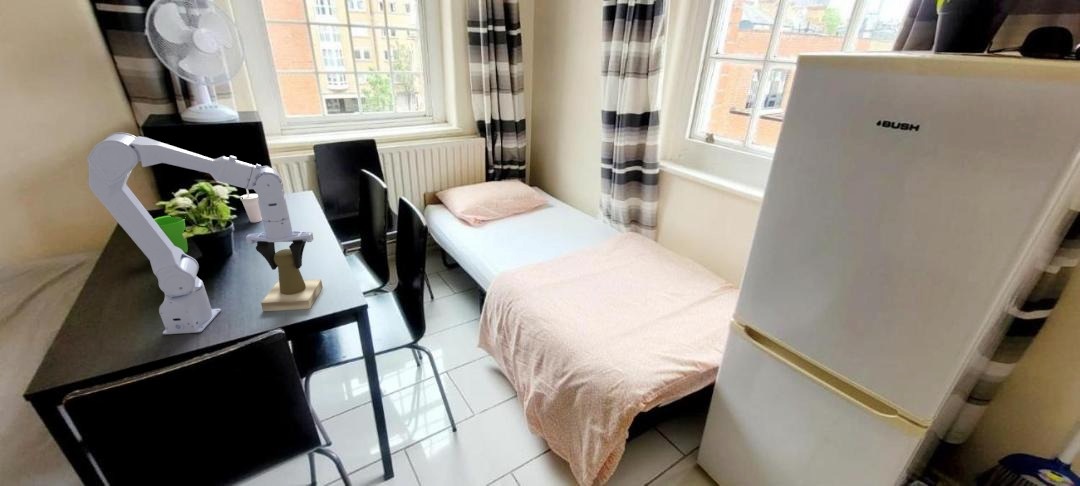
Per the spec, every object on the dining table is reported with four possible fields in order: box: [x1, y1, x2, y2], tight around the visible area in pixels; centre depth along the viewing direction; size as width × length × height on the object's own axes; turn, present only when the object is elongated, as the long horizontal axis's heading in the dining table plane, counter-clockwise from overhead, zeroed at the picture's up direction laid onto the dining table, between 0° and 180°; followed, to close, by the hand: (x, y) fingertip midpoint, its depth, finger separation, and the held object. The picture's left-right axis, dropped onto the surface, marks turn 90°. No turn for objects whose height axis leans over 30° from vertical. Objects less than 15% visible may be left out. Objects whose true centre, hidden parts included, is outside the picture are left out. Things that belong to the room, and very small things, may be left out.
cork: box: [274, 248, 306, 295], centre depth 111 cm, size 6×6×11 cm
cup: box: [153, 215, 189, 254], centre depth 133 cm, size 9×9×11 cm
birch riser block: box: [260, 278, 323, 312], centre depth 113 cm, size 11×11×2 cm
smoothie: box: [239, 188, 263, 223], centre depth 158 cm, size 6×6×14 cm
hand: (287, 267), depth 110 cm, fingers closed on cork, 5 cm apart
